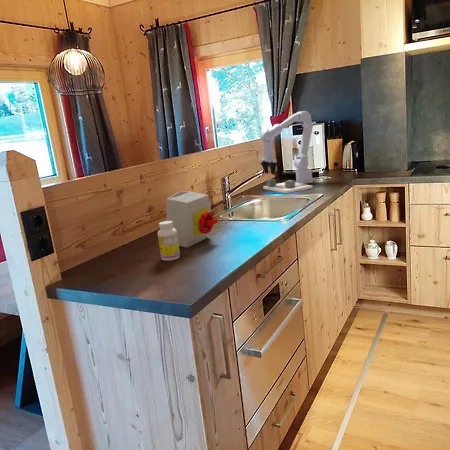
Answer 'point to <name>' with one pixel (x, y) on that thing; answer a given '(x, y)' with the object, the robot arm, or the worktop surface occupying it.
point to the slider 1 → (271, 182)
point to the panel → (283, 189)
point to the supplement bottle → (168, 241)
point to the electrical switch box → (190, 217)
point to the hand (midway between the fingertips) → (269, 173)
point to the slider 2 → (289, 183)
